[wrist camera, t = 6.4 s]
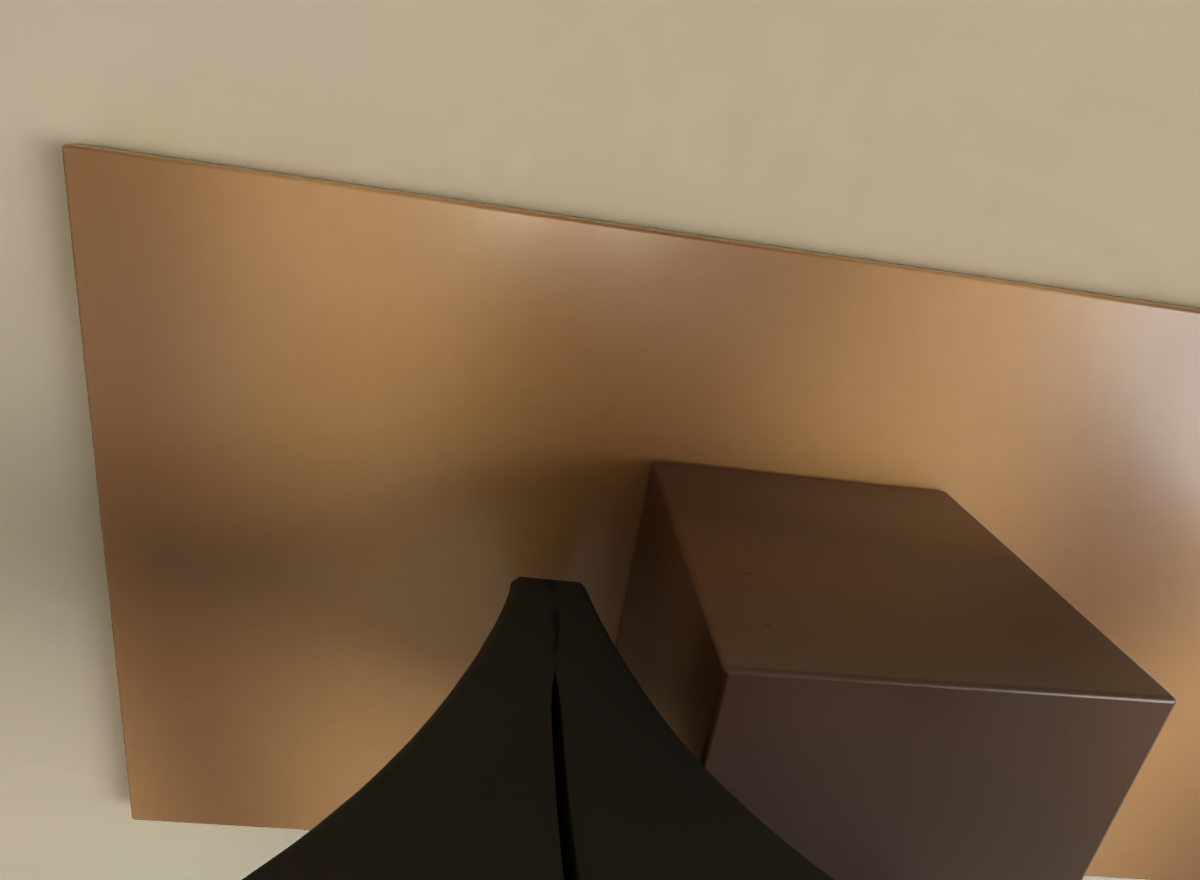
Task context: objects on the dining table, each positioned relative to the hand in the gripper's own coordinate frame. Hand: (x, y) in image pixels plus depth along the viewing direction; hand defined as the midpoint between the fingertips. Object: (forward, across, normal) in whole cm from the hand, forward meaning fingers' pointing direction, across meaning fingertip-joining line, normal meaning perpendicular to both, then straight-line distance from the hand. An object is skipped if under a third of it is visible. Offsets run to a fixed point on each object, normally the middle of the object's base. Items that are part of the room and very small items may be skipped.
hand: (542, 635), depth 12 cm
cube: (+1, -4, 0) cm, 4 cm away
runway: (+2, -9, 0) cm, 9 cm away
